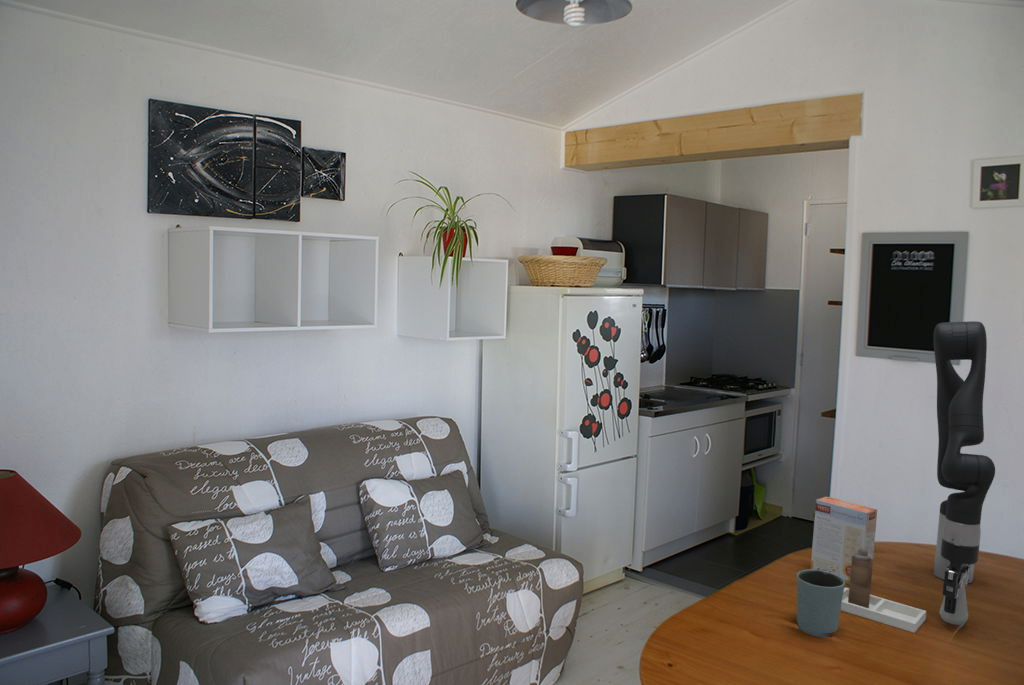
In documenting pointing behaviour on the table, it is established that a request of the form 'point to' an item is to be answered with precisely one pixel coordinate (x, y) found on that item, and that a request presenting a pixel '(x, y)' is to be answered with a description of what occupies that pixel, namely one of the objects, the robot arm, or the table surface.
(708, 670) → the table surface
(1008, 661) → the table surface
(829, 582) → the blue-grey cup
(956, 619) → the salt shaker
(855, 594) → the pepper mill
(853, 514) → the cracker box
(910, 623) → the caddy
